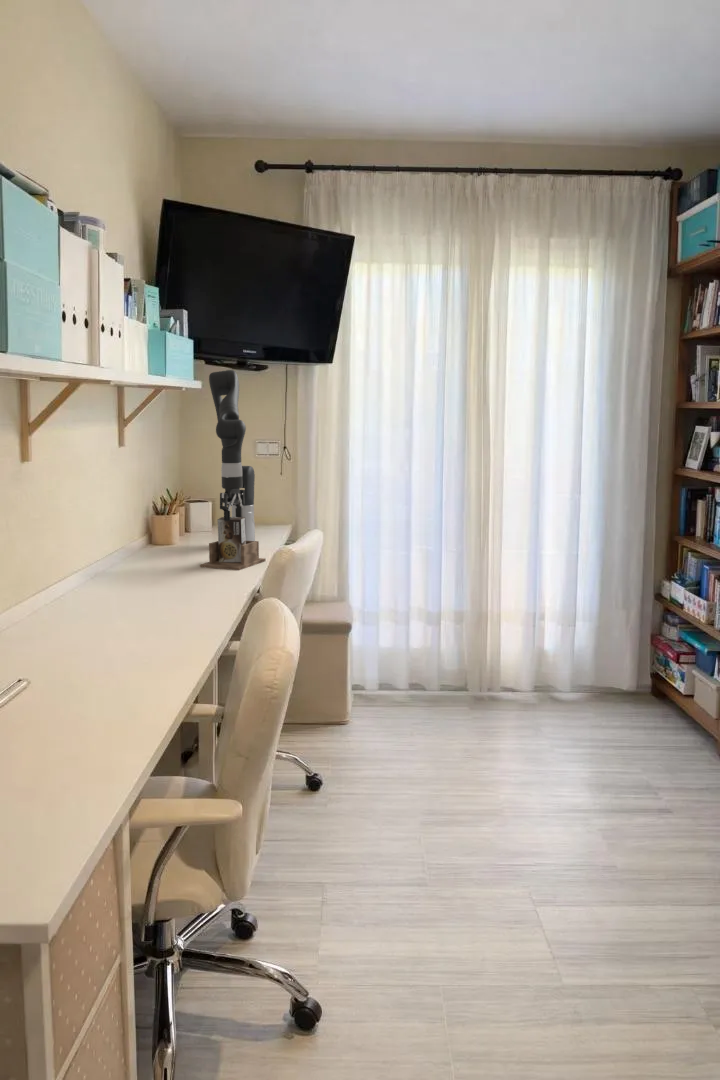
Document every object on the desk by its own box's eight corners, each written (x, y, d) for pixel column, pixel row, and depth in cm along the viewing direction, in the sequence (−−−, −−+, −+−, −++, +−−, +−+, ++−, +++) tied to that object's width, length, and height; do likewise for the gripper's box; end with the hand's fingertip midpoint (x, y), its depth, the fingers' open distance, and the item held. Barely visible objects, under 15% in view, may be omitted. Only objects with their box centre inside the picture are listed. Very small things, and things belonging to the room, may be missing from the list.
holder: (228, 558, 343) (227, 537, 341) (265, 561, 337) (265, 540, 336) (200, 567, 324) (199, 545, 323) (239, 570, 318) (238, 547, 317)
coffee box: (247, 560, 333) (246, 516, 331) (242, 563, 327) (241, 519, 325) (223, 559, 334) (222, 516, 332) (218, 562, 328) (217, 518, 326)
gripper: (232, 473, 333) (233, 516, 336) (212, 476, 320) (214, 521, 323) (250, 474, 331) (251, 517, 333) (231, 477, 318) (232, 522, 320)
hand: (233, 519), depth 328 cm, fingers open, 8 cm apart
